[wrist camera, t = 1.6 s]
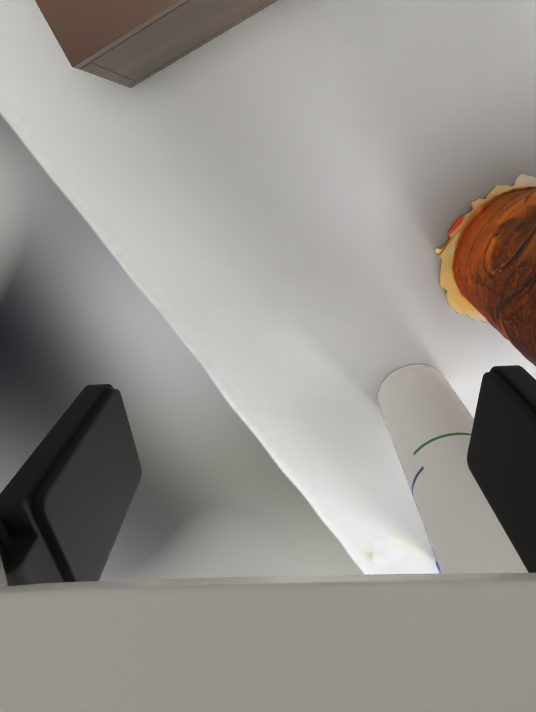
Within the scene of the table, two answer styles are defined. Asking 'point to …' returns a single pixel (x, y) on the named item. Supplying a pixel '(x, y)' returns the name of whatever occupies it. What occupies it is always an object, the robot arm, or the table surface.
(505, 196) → the vessel
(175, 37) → the chest
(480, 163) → the table surface
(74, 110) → the table surface
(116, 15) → the lid
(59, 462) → the robot arm
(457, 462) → the cylindrical container
